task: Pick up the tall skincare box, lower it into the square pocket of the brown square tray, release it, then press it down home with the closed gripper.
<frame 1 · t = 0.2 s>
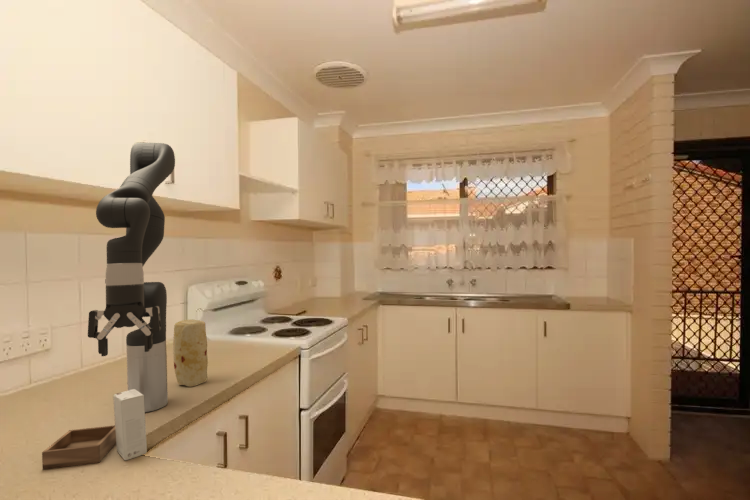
hand: (126, 353, 91), 18 cm above the worktop, tool pointing down, fingers open, 8 cm apart
food model: (191, 384, 123), on the worktop
brown square tray: (83, 453, 82), on the worktop
skincare box: (130, 453, 82), on the worktop
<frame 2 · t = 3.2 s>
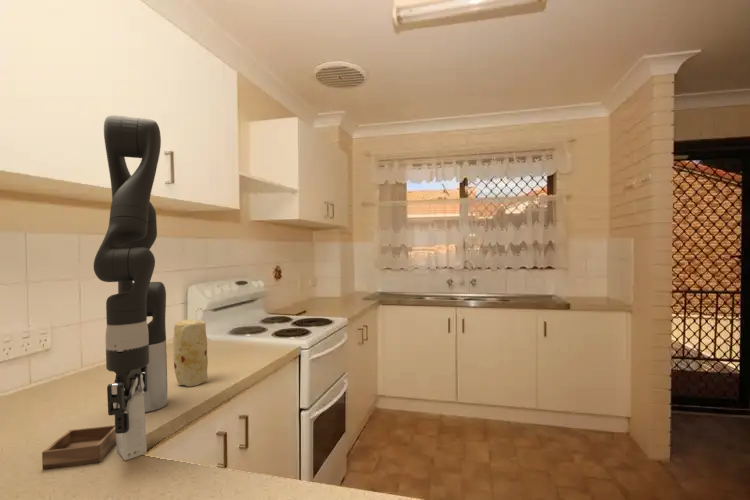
hand: (129, 424, 82), 6 cm above the worktop, tool pointing down, fingers closed on skincare box, 7 cm apart
skincare box: (130, 453, 82), on the worktop, touching gripper
everything else where it was.
when the fingers open (8 cm above the worktop, at t = 8.8 s): skincare box stays where it is, resting on brown square tray.
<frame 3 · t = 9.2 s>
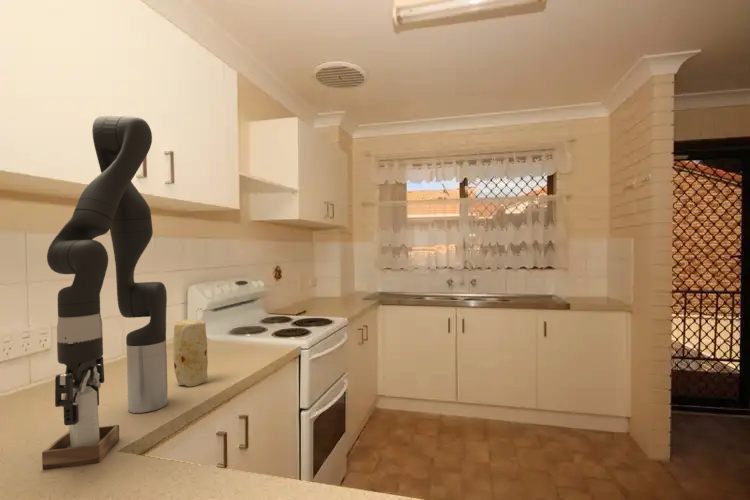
hand: (82, 415, 82), 8 cm above the worktop, tool pointing down, fingers open, 8 cm apart
skincare box: (84, 450, 82), point 1 cm above the worktop, touching brown square tray
everything else where it was.
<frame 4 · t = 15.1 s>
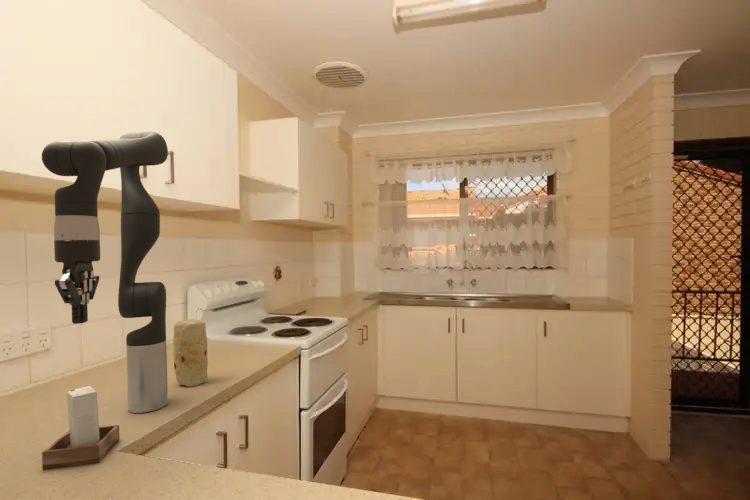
hand: (79, 322, 81), 27 cm above the worktop, tool pointing down, fingers closed
nothing on the worktop moved.
at the end: skincare box 0.2 cm off-centre on the brown square tray, point 0.6 cm above the brown square tray's base; skincare box tilted 0°; the gripper is holding nothing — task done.
